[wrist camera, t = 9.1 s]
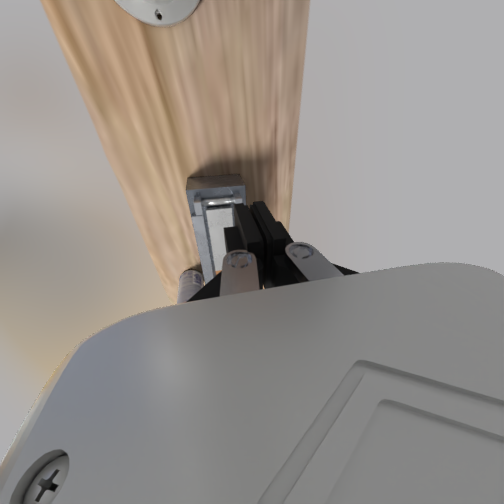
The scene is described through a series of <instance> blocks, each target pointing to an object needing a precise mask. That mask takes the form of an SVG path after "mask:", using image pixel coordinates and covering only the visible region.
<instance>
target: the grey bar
mask: <svg viewBox="0 0 504 504" xmlns="http://www.w3.org/2000/svg"><path fill="white" fill-rule="evenodd" d="M206 214H207V220H208V227H209V233H210V239H211V245H212V252H213V258H214V264H215V271H216V275H217V274H218V273H219V272H221V271H222V264H223V258H224V256H225V255H226V247H225V239H224V229H223V228H224V227H233V219H232V207H231V206H223V207H212V208H206Z"/></svg>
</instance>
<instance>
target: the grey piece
mask: <svg viewBox="0 0 504 504" xmlns="http://www.w3.org/2000/svg"><path fill="white" fill-rule="evenodd" d="M186 194H187V199H188V203H189V208H190V213H191V218H192V222H193V227H194V232H195V237H196V242H197V246H198V251H199V256H200V261H201V265H202V270H203V275H204V280H205V285H206V284H207V283H208V282H209V281H210V280H211V279H213V278H214V277H215V276H216V271H215V264H214V258H213V252H212V245H211V239H210V233H209V227H208V220H207V214H206V208H212V207H223V206H231V207H232V219H233V226H235V221H234V204H237V203H244V205H246V192H245V184H244V182H243V180H242V178H241V176H240V175H239V174H234V175H220V176H206V177H193V178H187V185H186Z"/></svg>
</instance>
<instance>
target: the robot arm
mask: <svg viewBox="0 0 504 504" xmlns="http://www.w3.org/2000/svg"><path fill="white" fill-rule="evenodd" d="M114 1H115V2H116V3H117V4H118V5H119V6H120V7H121V8H122V9H124V10H125V11H126V12H127V13H128V14H130V15H131V16H132V17H134V18H136V19H138V20H139V21H141V22H143V23H146V24H148V25H151V26H155V27H170V26H175V25H177V24H179V23H181V22H183V21H185V20H186V19H187V18H188V17H189V16H190V15H191V14H192V13H193V11H194V10H195V9H196V7H197V6H198V4H199V2H200V0H114ZM159 14H160V15H161V16H162V19H161V20H159V19H158V15H159ZM234 221H235V226H233V227H224V228H223V229H224V239H225V247H226V255H225V256H224V258H223V264H222V271H221V272H219V273H218V274H217V275H216V276H215V277H214V278H213V279H211V280H210V281H209V282H208V283H207V284H206V285H205V286H204V287H202V288H201V289H200V290H199V291H198V292H197V293H196V294H194V295H193V296H192V297H191V298H190V299H189V300H188V301H187V302H186V303H181V304H176V305H171V306H166V307H162V308H156V309H153V310H149V311H146V312H141V313H138V314H136V315H132V316H130V317H127V318H124V319H121V320H119V321H117V322H115V323H113V324H111V325H109V326H106V327H104V328H102V329H100V330H99V331H97V332H95V333H93V334H92V335H90V336H89V337H87V338H85V339H84V340H83V341H82V342H80V343H79V344H78V345H76V346H75V347H74V348H73V349H72V350H71V351H70V352H69V353H68V354H67V355H66V357H65V358H64V359H63V360H62V361H61V363H60V364H59V365H58V367H57V368H56V369H55V371H54V372H53V374H52V376H51V377H50V378H49V380H48V381H47V383H46V384H45V386H44V387H43V389H42V391H41V392H40V394H39V396H38V397H37V399H36V401H35V402H34V404H33V406H32V407H31V409H30V411H29V412H28V414H27V416H26V418H25V420H24V421H23V423H22V425H21V427H20V429H19V431H18V432H17V434H16V436H15V438H14V440H13V441H12V443H11V445H10V447H9V449H8V451H7V453H6V454H5V456H4V458H3V460H2V461H1V463H0V504H504V276H503V275H501V274H499V273H497V272H495V271H493V270H490V269H487V268H484V267H480V266H475V265H470V264H462V263H444V262H442V263H426V264H418V265H410V266H403V267H396V268H390V269H384V270H378V271H371V272H365V273H358V272H355V271H352V270H350V269H347V268H344V267H341V266H338V265H335V264H332V263H331V262H329V261H328V260H327V259H326V258H325V257H324V256H323V255H322V254H321V253H320V252H319V251H318V250H317V249H316V248H315V247H313V246H312V245H310V244H308V243H304V242H294V241H293V240H292V239H291V237H290V235H289V234H288V232H287V231H286V229H285V228H284V226H283V225H282V223H281V222H280V221H277V222H276V221H275V219H274V217H273V216H272V214H271V213H270V211H269V210H268V208H267V206H266V205H265V203H264V202H263V201H258V202H253V205H250V210H249V208H248V205H244V203H237V204H234ZM263 285H264V288H265V289H263Z"/></svg>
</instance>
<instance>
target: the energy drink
mask: <svg viewBox="0 0 504 504" xmlns="http://www.w3.org/2000/svg"><path fill="white" fill-rule="evenodd" d="M202 287H204V284H203V275H202V274H201V273H200V272H198V271H195V270H188V271H185V272H184V273H182V274H181V276H180V279H179V289H178V299H177V304H181V303H186V302H187V301H188V300H189V299H190V298H191V297H192V296H193V295H194V294H196V293H197V292H198V291H199V290H200V289H201V288H202Z"/></svg>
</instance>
